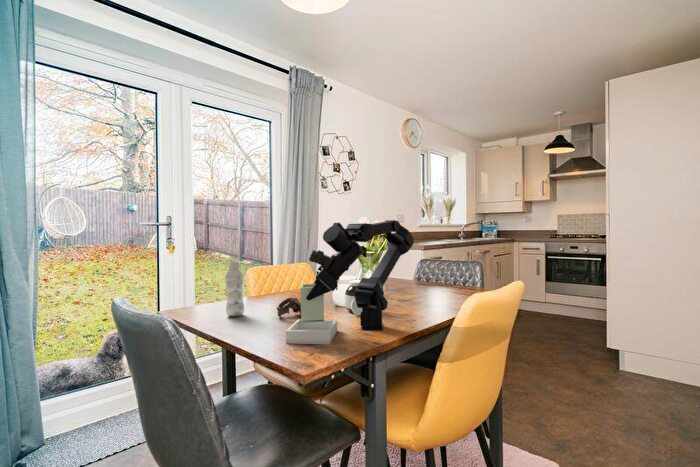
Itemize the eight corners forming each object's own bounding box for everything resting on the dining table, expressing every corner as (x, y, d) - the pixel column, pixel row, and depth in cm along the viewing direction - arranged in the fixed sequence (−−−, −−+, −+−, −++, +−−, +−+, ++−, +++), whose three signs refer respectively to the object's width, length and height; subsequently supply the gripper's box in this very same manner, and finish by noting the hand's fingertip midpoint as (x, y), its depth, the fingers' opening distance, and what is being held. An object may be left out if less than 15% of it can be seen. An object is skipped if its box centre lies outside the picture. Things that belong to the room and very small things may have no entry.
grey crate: (337, 331, 111) (337, 319, 111) (330, 344, 98) (329, 331, 98) (298, 330, 112) (297, 319, 112) (286, 343, 100) (285, 330, 100)
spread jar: (361, 307, 143) (361, 278, 143) (381, 312, 134) (381, 281, 134) (338, 312, 135) (337, 282, 135) (357, 318, 126) (357, 285, 126)
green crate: (323, 315, 109) (323, 283, 108) (323, 321, 102) (323, 287, 102) (302, 316, 108) (301, 284, 108) (301, 322, 102) (300, 287, 102)
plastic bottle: (241, 318, 129) (240, 263, 129) (223, 318, 129) (221, 263, 129) (247, 314, 136) (245, 261, 135) (229, 314, 136) (228, 262, 135)
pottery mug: (305, 321, 125) (293, 303, 123) (282, 332, 126) (270, 314, 124) (310, 305, 136) (299, 288, 134) (289, 316, 138) (278, 299, 136)
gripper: (324, 239, 114) (290, 274, 114) (324, 241, 96) (284, 283, 95) (349, 262, 115) (315, 297, 114) (354, 269, 96) (314, 311, 96)
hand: (307, 297), depth 105 cm, fingers closed on green crate, 6 cm apart
